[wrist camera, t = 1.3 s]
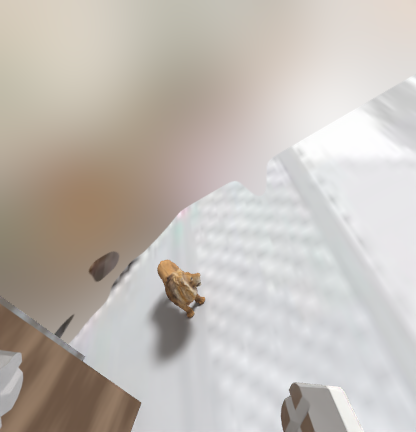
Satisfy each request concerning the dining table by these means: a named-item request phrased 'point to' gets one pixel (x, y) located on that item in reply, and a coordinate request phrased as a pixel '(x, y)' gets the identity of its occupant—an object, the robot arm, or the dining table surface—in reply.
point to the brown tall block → (59, 384)
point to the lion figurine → (180, 286)
